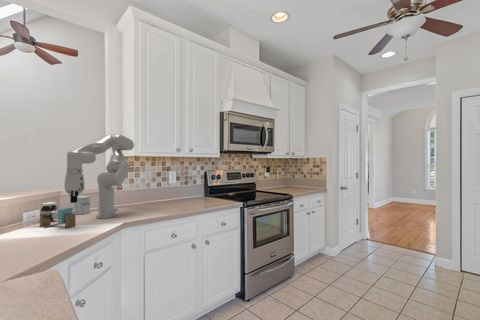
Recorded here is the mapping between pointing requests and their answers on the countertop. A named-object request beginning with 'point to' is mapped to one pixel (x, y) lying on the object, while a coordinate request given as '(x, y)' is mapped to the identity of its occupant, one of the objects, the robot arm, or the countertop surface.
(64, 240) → the countertop surface
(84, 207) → the supplement box
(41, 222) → the brown wooden rack
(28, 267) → the countertop surface
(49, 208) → the spread jar
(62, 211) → the teal flat block
